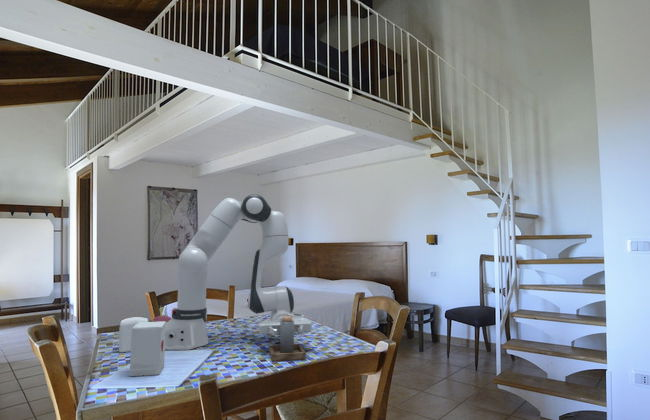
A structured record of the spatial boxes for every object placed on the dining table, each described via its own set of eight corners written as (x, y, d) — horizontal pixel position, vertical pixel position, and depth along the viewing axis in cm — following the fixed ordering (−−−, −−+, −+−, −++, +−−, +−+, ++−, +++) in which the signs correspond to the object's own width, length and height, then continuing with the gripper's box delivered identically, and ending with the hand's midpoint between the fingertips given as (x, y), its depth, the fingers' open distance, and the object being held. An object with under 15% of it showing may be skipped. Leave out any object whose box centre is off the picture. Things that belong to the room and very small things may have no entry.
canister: (280, 356, 144) (281, 318, 145) (279, 352, 149) (279, 315, 150) (294, 355, 145) (294, 317, 146) (292, 351, 150) (292, 315, 151)
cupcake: (167, 333, 179) (168, 306, 180) (148, 333, 179) (149, 306, 180) (174, 329, 187) (175, 303, 188) (156, 328, 187) (157, 302, 188)
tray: (271, 361, 140) (272, 354, 140) (268, 352, 151) (269, 345, 151) (305, 359, 142) (305, 352, 142) (300, 350, 154) (300, 343, 154)
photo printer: (117, 353, 148) (119, 319, 149) (119, 350, 152) (120, 317, 153) (148, 350, 152) (149, 317, 153) (148, 347, 156) (149, 315, 157)
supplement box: (159, 375, 125) (161, 326, 126) (128, 377, 123) (130, 327, 124) (165, 366, 134) (166, 320, 135) (136, 367, 132) (138, 321, 133)
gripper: (256, 316, 158) (259, 323, 144) (307, 314, 162) (314, 321, 149) (256, 332, 157) (258, 341, 144) (307, 330, 162) (314, 339, 149)
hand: (287, 331), depth 147 cm, fingers open, 8 cm apart
